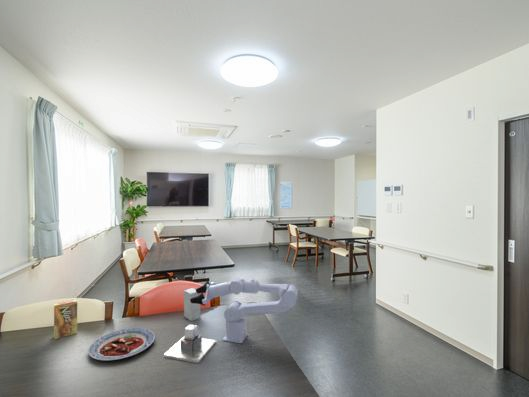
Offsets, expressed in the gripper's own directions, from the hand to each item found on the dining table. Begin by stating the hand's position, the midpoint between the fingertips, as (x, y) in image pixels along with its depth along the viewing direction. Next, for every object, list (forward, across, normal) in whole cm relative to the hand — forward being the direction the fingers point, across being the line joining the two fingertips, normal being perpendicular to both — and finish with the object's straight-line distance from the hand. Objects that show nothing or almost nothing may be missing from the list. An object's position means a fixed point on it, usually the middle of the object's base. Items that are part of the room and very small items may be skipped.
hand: (193, 296), depth 130 cm
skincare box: (+14, -11, +19) cm, 26 cm away
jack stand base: (0, +18, +14) cm, 23 cm away
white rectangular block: (0, +17, +13) cm, 22 cm away
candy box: (+62, +13, -3) cm, 63 cm away
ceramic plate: (+30, +19, +6) cm, 36 cm away
